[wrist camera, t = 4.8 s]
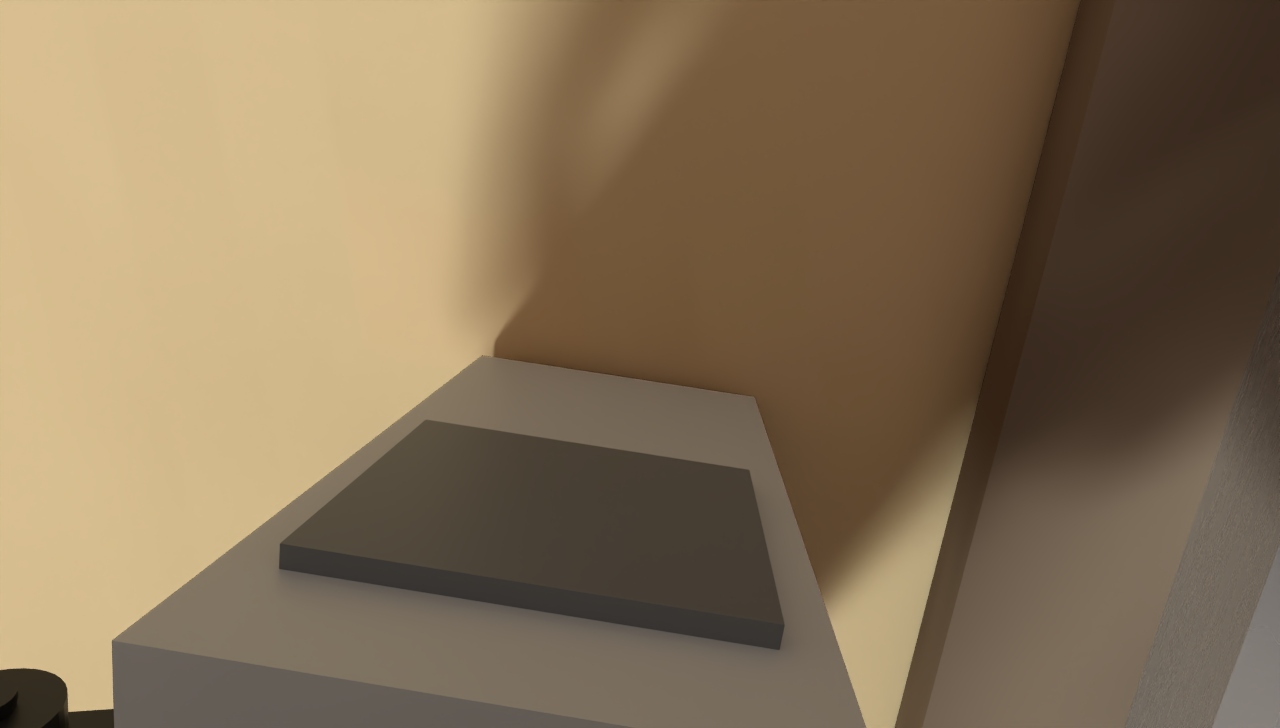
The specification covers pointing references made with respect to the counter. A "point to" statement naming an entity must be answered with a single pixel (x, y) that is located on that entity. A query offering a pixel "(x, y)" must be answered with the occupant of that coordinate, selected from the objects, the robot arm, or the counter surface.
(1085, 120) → the mounting board
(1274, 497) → the rail channel
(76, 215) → the counter surface
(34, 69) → the counter surface
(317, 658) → the grey module
